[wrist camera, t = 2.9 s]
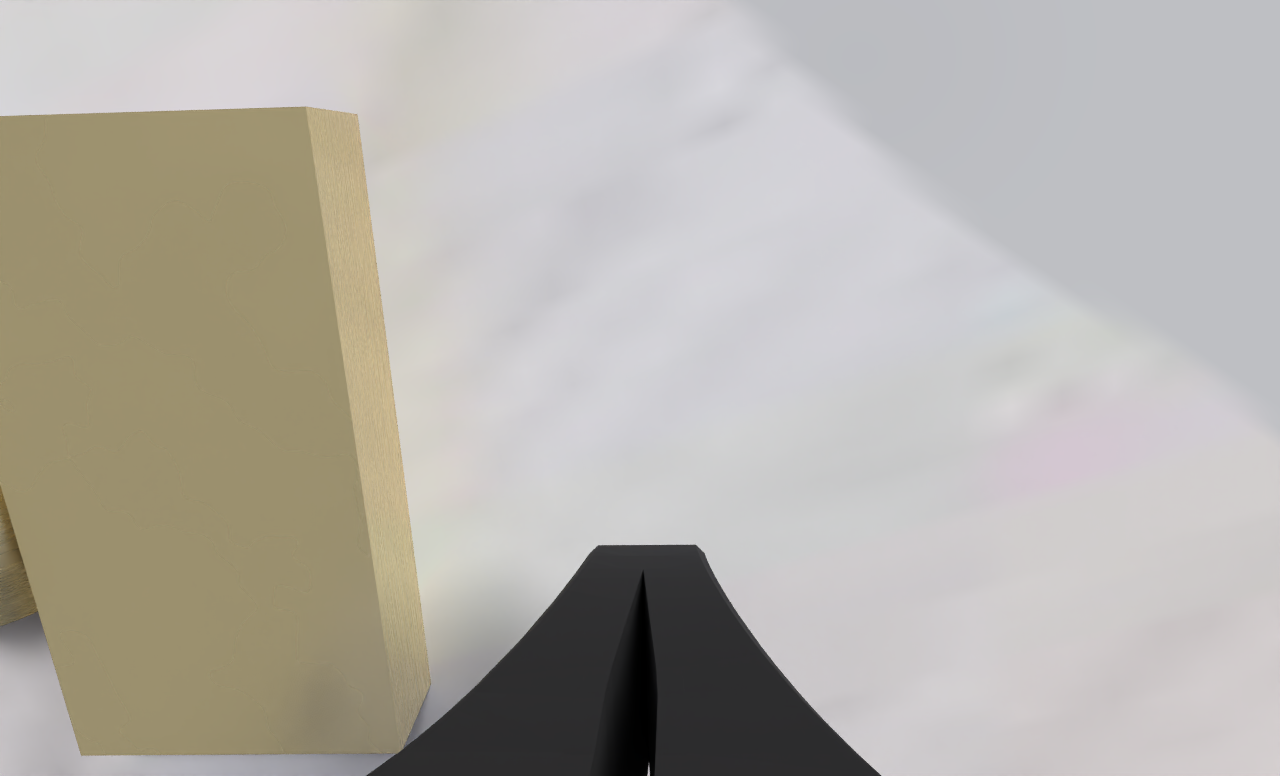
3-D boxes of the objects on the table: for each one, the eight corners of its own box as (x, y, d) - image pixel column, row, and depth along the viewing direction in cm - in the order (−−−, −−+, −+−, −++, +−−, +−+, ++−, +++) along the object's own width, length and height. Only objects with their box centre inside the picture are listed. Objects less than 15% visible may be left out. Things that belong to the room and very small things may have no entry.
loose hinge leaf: (433, 679, 18) (388, 783, 15) (25, 683, 19) (-98, 785, 16) (361, 115, 15) (282, 103, 12) (-148, 130, 15) (-356, 123, 12)
